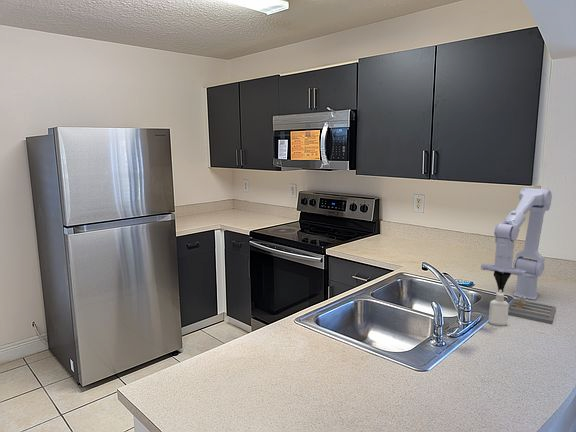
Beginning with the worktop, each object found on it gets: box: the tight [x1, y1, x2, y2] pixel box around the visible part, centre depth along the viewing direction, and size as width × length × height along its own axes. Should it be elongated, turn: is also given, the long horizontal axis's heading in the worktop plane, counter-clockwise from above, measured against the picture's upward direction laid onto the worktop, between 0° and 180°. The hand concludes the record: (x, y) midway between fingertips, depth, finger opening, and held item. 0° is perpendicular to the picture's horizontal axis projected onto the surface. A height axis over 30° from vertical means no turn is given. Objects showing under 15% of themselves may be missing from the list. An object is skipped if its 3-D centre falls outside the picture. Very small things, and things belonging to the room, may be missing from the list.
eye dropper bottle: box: [488, 290, 510, 326], centre depth 139 cm, size 4×6×12 cm
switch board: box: [508, 298, 557, 325], centre depth 149 cm, size 16×14×2 cm
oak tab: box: [516, 300, 523, 309], centre depth 148 cm, size 2×2×3 cm
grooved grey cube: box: [518, 295, 527, 303], centre depth 154 cm, size 2×2×3 cm
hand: (500, 291), depth 152 cm, fingers closed
